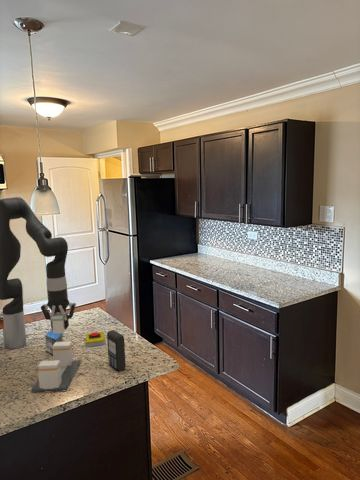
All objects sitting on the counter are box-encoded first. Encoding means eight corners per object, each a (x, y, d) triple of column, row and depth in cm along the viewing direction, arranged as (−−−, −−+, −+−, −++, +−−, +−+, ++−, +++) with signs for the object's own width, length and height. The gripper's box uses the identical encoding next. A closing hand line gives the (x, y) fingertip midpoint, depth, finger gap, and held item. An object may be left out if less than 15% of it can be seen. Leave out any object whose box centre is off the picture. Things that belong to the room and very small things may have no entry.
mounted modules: (39, 388, 134) (37, 366, 133) (56, 361, 155) (55, 342, 154) (58, 387, 134) (56, 365, 133) (73, 360, 155) (71, 341, 154)
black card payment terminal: (107, 364, 154) (105, 331, 151) (115, 361, 156) (113, 328, 154) (118, 372, 147) (116, 338, 144) (126, 369, 149) (124, 335, 147)
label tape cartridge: (46, 351, 168) (43, 326, 166) (53, 348, 171) (51, 324, 169) (56, 357, 162) (54, 331, 160) (64, 353, 165) (62, 328, 163)
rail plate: (31, 392, 134) (31, 389, 133) (50, 364, 155) (50, 361, 155) (66, 391, 134) (66, 388, 134) (80, 362, 156) (80, 360, 156)
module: (53, 333, 141) (51, 316, 141) (57, 327, 148) (56, 311, 147) (63, 333, 142) (62, 316, 141) (67, 327, 148) (66, 311, 147)
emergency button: (103, 327, 185) (105, 339, 170) (103, 335, 185) (106, 347, 171) (84, 330, 182) (85, 342, 168) (85, 338, 183) (86, 350, 168)
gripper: (35, 291, 138) (39, 333, 140) (72, 289, 139) (75, 331, 141) (42, 285, 145) (45, 326, 148) (77, 284, 146) (80, 324, 149)
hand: (60, 328), depth 145 cm, fingers closed on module, 4 cm apart
